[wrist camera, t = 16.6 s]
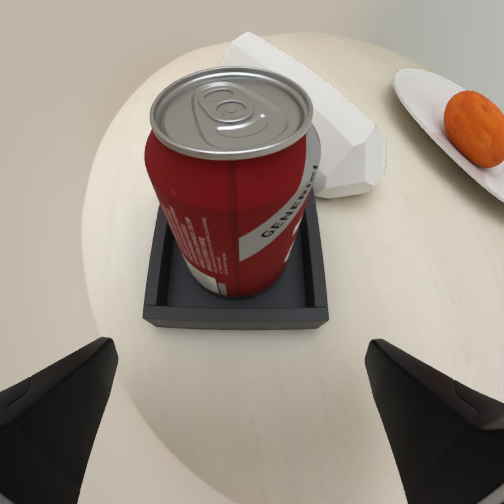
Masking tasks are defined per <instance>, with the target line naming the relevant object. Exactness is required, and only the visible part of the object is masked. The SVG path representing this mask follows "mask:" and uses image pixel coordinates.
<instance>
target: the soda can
mask: <svg viewBox="0 0 504 504" xmlns="http://www.w3.org/2000/svg"><path fill="white" fill-rule="evenodd" d="M312 118H313V104H312V101H311V99H310V97H309V95H308V94H307V93H306V91H305V90H304V89H303V88H302V87H301V86H299V85H298V84H297V83H295V82H294V81H292V80H291V79H289V78H287V77H285V76H283V75H281V74H278V73H275V72H272V71H269V70H265V69H261V68H255V67H246V66H225V67H216V68H210V69H206V70H202V71H198V72H195V73H192V74H189V75H187V76H185V77H183V78H181V79H179V80H177V81H175V82H173V83H172V84H170V85H169V86H168V87H166V88H165V89H164V90H163V91H162V92H161V93H160V94H159V95H158V96H157V98H156V99H155V100H154V102H153V104H152V107H151V110H150V123H151V127H152V130H151V132H150V135H149V137H148V139H147V143H146V146H145V157H144V158H145V166H146V169H147V172H148V175H149V178H150V180H151V183H152V185H153V188H154V190H155V192H156V195H157V197H158V200H159V202H160V205H161V207H162V209H163V212H164V214H165V216H166V219H167V221H168V223H169V226H170V228H171V230H172V233H173V235H174V237H175V239H176V242H177V244H178V246H179V248H180V250H181V253H182V255H183V257H184V259H185V261H186V263H187V266H188V268H189V270H190V272H191V274H192V275H193V277H194V278H195V279H196V281H197V282H198V283H199V284H200V285H201V286H203V287H204V288H205V289H207V290H208V291H210V292H212V293H214V294H216V295H219V296H223V297H228V298H245V297H250V296H253V295H256V294H259V293H261V292H263V291H265V290H266V289H268V288H269V287H270V286H272V285H273V284H274V283H275V282H276V281H277V280H278V278H279V277H280V276H281V274H282V272H283V270H284V268H285V266H286V263H287V260H288V257H289V254H290V251H291V249H292V246H293V243H294V240H295V237H296V234H297V231H298V228H299V225H300V222H301V219H302V216H303V213H304V210H305V207H306V204H307V201H308V198H309V195H310V192H311V189H312V185H313V182H314V179H315V176H316V173H317V170H318V166H319V163H320V158H321V144H320V139H319V136H318V133H317V131H316V129H315V127H314V125H313V124H312Z"/></svg>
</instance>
